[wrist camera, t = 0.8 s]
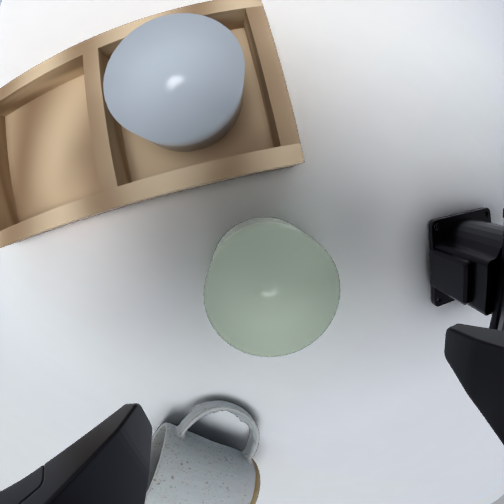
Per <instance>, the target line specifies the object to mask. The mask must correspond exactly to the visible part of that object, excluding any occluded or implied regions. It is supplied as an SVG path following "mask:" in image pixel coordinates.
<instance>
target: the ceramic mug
mask: <svg viewBox="0 0 504 504" xmlns="http://www.w3.org/2000/svg"><path fill="white" fill-rule="evenodd" d="M224 410H226V411H228V412H231V413H233V414H234V415H236V416H237V417H239V419H240V421H241V422H245V423H246V424H247V425H248V426H249V428H250V434H249V439H248V442H247V445H246V447H245V449H244V450H243V451H239V450H236V449H234V448H231V447H228V446H225V445H222V444H219V443H216V442H213V441H211V440H208V439H206V438H204V437H201V436H199V435H197V434H194V433H192V432H189V431H187V430H188V429H189V428H190V427H191V426H192V425H193V424H194V423H195V422H196V421H197V420H199V419H200V418H201V417H203V416H206V415H208V414H211V413H215V412H218V411H224ZM258 445H259V430H258V427H257V424H256V423H255V421H254V420H253V418H252V417H251V416H250V414H249V413H248V412H247V411H246V410H245V409H243V408H242V407H240V406H238V405H236V404H234V403H230V402H227V401H217V400H216V401H211V402H207V403H203V404H201V405H199V406H197V407H196V408H194V409H193V410H192V411H191V412H190V413H189V414H188V415H187V416H186V417H185V418H184V419H183V420H182V421H181V423H180V424H179V425H178V426H176V425H173V424H170V423H167V422H166V423H163V424H161V425H160V427H159V428H158V430H157V431H156V432H155V434H154V436H153V438H152V441H151V458H150V473H149V480H148V486H147V492H146V499H145V504H255V503H256V501H257V498H258V494H259V490H260V474H259V470H258V467H257V465H256V463H255V461H254V460H253V458H252V457H253V456H254V454H255V452H256V451H257V447H258Z"/></svg>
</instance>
